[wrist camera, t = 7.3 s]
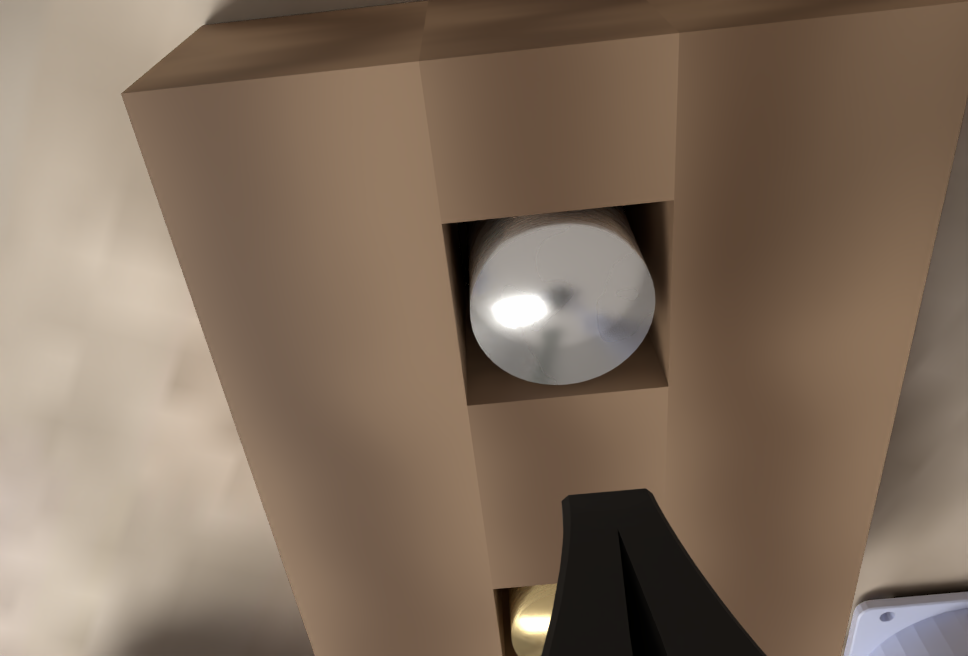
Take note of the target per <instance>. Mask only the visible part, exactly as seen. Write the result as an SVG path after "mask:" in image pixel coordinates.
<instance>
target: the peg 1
mask: <svg viewBox="0 0 968 656" xmlns="http://www.w3.org/2000/svg"><path fill="white" fill-rule="evenodd" d="M556 587H557V584H546V585H535V586H524V587H512V588H508V591H509V606H510V622H511V637H512V644H513V647H514V649H515V652H516V653H517V654H518V656H541V655H542V651H543V647H544V643H545V639H546V635H547V631H548V627H549V623H550V619H551V614H552V610H553V605H554V599H555V593H556Z"/></svg>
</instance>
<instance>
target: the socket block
mask: <svg viewBox="0 0 968 656" xmlns="http://www.w3.org/2000/svg"><path fill="white" fill-rule="evenodd" d="M121 95H122V98H123V101H124V104H125V106H126V109H127V112H128V115H129V118H130V121H131V124H132V127H133V130H134V133H135V135H136V138H137V141H138V144H139V147H140V150H141V153H142V156H143V159H144V162H145V164H146V167H147V170H148V173H149V176H150V179H151V182H152V185H153V188H154V191H155V194H156V196H157V199H158V202H159V205H160V208H161V211H162V214H163V217H164V220H165V223H166V225H167V228H168V231H169V234H170V237H171V240H172V243H173V246H174V249H175V252H176V254H177V257H178V260H179V263H180V266H181V269H182V272H183V275H184V278H185V281H186V283H187V286H188V289H189V292H190V295H191V298H192V301H193V304H194V307H195V310H196V313H197V315H198V318H199V321H200V324H201V327H202V330H203V333H204V336H205V339H206V342H207V344H208V347H209V350H210V353H211V356H212V359H213V362H214V365H215V368H216V371H217V373H218V376H219V379H220V382H221V385H222V388H223V391H224V394H225V397H226V400H227V402H228V405H229V408H230V411H231V414H232V417H233V420H234V423H235V426H236V429H237V432H238V434H239V437H240V440H241V443H242V446H243V449H244V452H245V455H246V458H247V461H248V463H249V466H250V469H251V472H252V475H253V478H254V481H255V484H256V487H257V490H258V492H259V495H260V498H261V501H262V504H263V507H264V510H265V513H266V516H267V519H268V521H269V524H270V527H271V530H272V533H273V536H274V539H275V542H276V545H277V548H278V550H279V553H280V556H281V559H282V562H283V565H284V568H285V571H286V574H287V577H288V580H289V582H290V585H291V588H292V591H293V594H294V597H295V600H296V603H297V606H298V609H299V611H300V614H301V617H302V620H303V623H304V626H305V629H306V632H307V635H308V638H309V640H310V643H311V646H312V649H313V652H314V655H315V656H518V654H517V653H516V652H515V649H514V647H513V644H512V637H511V622H510V606H509V591H508V588H512V587H524V586H535V585H546V584H557V582H558V576H559V570H560V563H561V553H562V544H563V518H562V502H561V501H562V500H563V499H564V498H566V497H567V496H568V495H574V494H586V493H597V492H609V491H620V490H632V489H643V488H646V489H647V490H649V491H650V492H651V493H653V495H654V497H655V499H656V501H657V503H658V505H659V507H660V509H661V510H662V512H663V514H664V516H665V517H666V519H667V521H668V522H669V524H670V526H671V527H672V529H673V531H674V532H675V534H676V535H677V537H678V539H679V540H680V542H681V543H682V545H683V546H684V548H685V549H686V551H687V552H688V554H689V555H690V557H691V558H692V560H693V561H694V563H695V564H696V566H697V567H698V568H699V570H700V571H701V573H702V574H703V575H704V577H705V578H706V580H707V581H708V582H709V584H710V585H711V586H712V588H713V589H714V590H715V592H716V593H717V594H718V596H719V597H720V599H721V600H722V601H723V603H724V604H725V605H726V607H727V608H728V609H729V610H730V612H731V613H732V614H733V615H734V617H735V618H736V619H737V621H738V622H739V623H740V624H741V625H742V627H743V628H744V629H745V630H746V632H747V633H748V634H749V635H750V636H751V638H752V639H753V640H754V641H755V642H756V644H757V645H758V646H759V647H760V648H761V650H762V651H763V652H764V653H765V654H766V655H767V656H841V652H842V647H843V643H844V639H845V634H846V630H847V626H848V621H849V617H850V612H851V608H852V604H853V599H854V595H855V590H856V586H857V582H858V577H859V573H860V568H861V564H862V560H863V555H864V551H865V546H866V542H867V538H868V533H869V529H870V524H871V520H872V516H873V511H874V507H875V502H876V498H877V494H878V489H879V485H880V480H881V476H882V472H883V467H884V463H885V459H886V454H887V450H888V445H889V441H890V437H891V432H892V428H893V423H894V419H895V415H896V410H897V406H898V401H899V397H900V393H901V388H902V384H903V379H904V375H905V371H906V366H907V362H908V357H909V353H910V349H911V344H912V340H913V335H914V331H915V327H916V322H917V318H918V313H919V309H920V305H921V300H922V296H923V292H924V287H925V283H926V278H927V274H928V270H929V265H930V261H931V256H932V252H933V248H934V243H935V239H936V234H937V230H938V226H939V221H940V217H941V212H942V208H943V204H944V199H945V195H946V190H947V186H948V182H949V177H950V173H951V168H952V164H953V160H954V155H955V151H956V147H957V142H958V138H959V133H960V129H961V125H962V120H963V116H964V111H965V107H966V103H967V98H968V0H426V1H417V2H408V3H399V4H390V5H381V6H372V7H363V8H354V9H345V10H336V11H327V12H318V13H309V14H300V15H291V16H282V17H273V18H264V19H255V20H246V21H237V22H228V23H219V24H210V25H203V26H201V27H200V28H199V29H198V30H197V31H195V32H194V33H193V34H192V35H191V36H189V37H188V38H187V39H186V40H185V41H183V42H182V43H181V44H180V45H179V46H177V47H176V48H175V49H174V50H173V51H172V52H170V53H169V54H168V55H167V56H166V57H164V58H163V59H162V60H161V61H160V62H158V63H157V64H156V65H155V66H154V67H152V68H151V69H150V70H149V71H148V72H146V73H145V74H144V75H143V76H142V77H140V78H139V79H138V80H137V81H136V82H134V83H133V84H132V85H131V86H130V87H129V88H127V89H126V90H125V91H124V92H123V93H121ZM622 205H626V218H627V220H628V222H629V225H630V227H631V230H632V232H633V234H634V237H635V239H636V242H637V244H638V246H639V249H640V251H641V254H642V256H643V258H644V261H645V263H646V266H647V268H648V271H649V273H650V276H651V278H652V281H653V285H654V290H655V311H654V315H653V320H652V323H651V325H650V328H649V330H648V333H647V334H646V336H645V338H644V339H643V341H642V343H641V344H640V345H639V346H638V348H637V349H636V350H635V351H634V352H633V353H632V354H631V355H630V356H629V358H627V359H626V360H625V361H624V362H622V363H621V364H620V365H618V366H617V367H615V368H614V369H612V370H611V371H609V372H607V373H605V374H603V375H601V376H598V377H596V378H593V379H590V380H587V381H583V382H579V383H574V384H567V385H547V384H539V383H533V382H530V381H526V380H523V379H520V378H518V377H516V376H513V375H511V374H510V373H508V372H506V371H504V370H503V369H501V368H500V367H499V366H497V365H496V364H495V363H494V362H493V361H492V360H491V359H490V358H489V357H488V356H487V355H486V354H485V352H484V351H483V350H482V349H481V347H480V345H479V343H478V342H477V340H476V337H475V335H474V332H473V329H472V324H471V318H470V287H465V281H464V273H463V265H462V257H461V250H460V242H459V234H458V226H457V222H466V221H475V220H485V219H495V218H505V217H514V216H524V215H534V214H544V213H553V212H563V211H573V210H583V209H592V208H602V207H612V206H622Z"/></svg>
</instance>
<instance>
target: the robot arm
mask: <svg viewBox="0 0 968 656" xmlns="http://www.w3.org/2000/svg"><path fill="white" fill-rule="evenodd" d="M561 502H562V518H563V544H562V553H561V563H560V570H559V576H558V582H557V587H556V593H555V599H554V605H553V610H552V614H551V619H550V623H549V627H548V631H547V635H546V639H545V643H544V647H543V651H542V655H541V656H767V655H766V654H765V653H764V652H763V651H762V650H761V648H760V647H759V646H758V645H757V644H756V642H755V641H754V640H753V639H752V638H751V636H750V635H749V634H748V633H747V632H746V630H745V629H744V628H743V627H742V625H741V624H740V623H739V622H738V621H737V619H736V618H735V617H734V615H733V614H732V613H731V612H730V610H729V609H728V608H727V607H726V605H725V604H724V603H723V601H722V600H721V599H720V597H719V596H718V594H717V593H716V592H715V590H714V589H713V588H712V586H711V585H710V584H709V582H708V581H707V580H706V578H705V577H704V575H703V574H702V573H701V571H700V570H699V568H698V567H697V566H696V564H695V563H694V561H693V560H692V558H691V557H690V555H689V554H688V552H687V551H686V549H685V548H684V546H683V545H682V543H681V542H680V540H679V539H678V537H677V535H676V534H675V532H674V531H673V529H672V527H671V526H670V524H669V522H668V521H667V519H666V517H665V516H664V514H663V512H662V510H661V509H660V507H659V505H658V503H657V501H656V499H655V497H654V495H653V493H651V492H650V491H649V490H647V489H646V488H643V489H632V490H620V491H609V492H597V493H586V494H574V495H568V496H567V497H566V498H564V499H563V500H562V501H561ZM844 656H968V592H957V593H945V594H934V595H922V596H911V597H899V598H888V599H876V600H868V601H864V602H862V603H860V604H859V605H858V606H856V608H855V610H854V613H853V618H852V622H851V626H850V631H849V635H848V639H847V644H846V648H845V652H844Z"/></svg>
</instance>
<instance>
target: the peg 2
mask: <svg viewBox="0 0 968 656" xmlns="http://www.w3.org/2000/svg"><path fill="white" fill-rule="evenodd" d="M468 245H469V287H470V318H471V324H472V329H473V332H474V335H475V337H476V340H477V342H478V343H479V345H480V347H481V349H482V350H483V351H484V352H485V354H486V355H487V356H488V357H489V358H490V359H491V360H492V361H493V362H494V363H495V364H496V365H497V366H499V367H500V368H501V369H503V370H504V371H506V372H508V373H510V374H511V375H513V376H516V377H518V378H520V379H523V380H526V381H530V382H533V383H539V384H547V385H567V384H574V383H579V382H583V381H587V380H590V379H593V378H596V377H598V376H601V375H603V374H605V373H607V372H609V371H611V370H612V369H614V368H615V367H617V366H618V365H620V364H621V363H622V362H624V361H625V360H626V359H627V358H629V356H630V355H631V354H632V353H633V352H634V351H635V350H636V349H637V348H638V346H639V345H640V344H641V343H642V341H643V339H644V338H645V336H646V334H647V333H648V330H649V328H650V325H651V323H652V320H653V315H654V311H655V290H654V285H653V281H652V278H651V276H650V273H649V271H648V268H647V266H646V263H645V261H644V258H643V256H642V254H641V251H640V249H639V246H638V244H637V242H636V239H635V237H634V234H633V232H632V230H631V227H630V225H629V222H628V220H627V218H626V215H625V213H624V210H623V208H622V206H612V207H602V208H592V209H583V210H573V211H563V212H553V213H544V214H534V215H524V216H514V217H505V218H495V219H485V220H475V221H468Z"/></svg>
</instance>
